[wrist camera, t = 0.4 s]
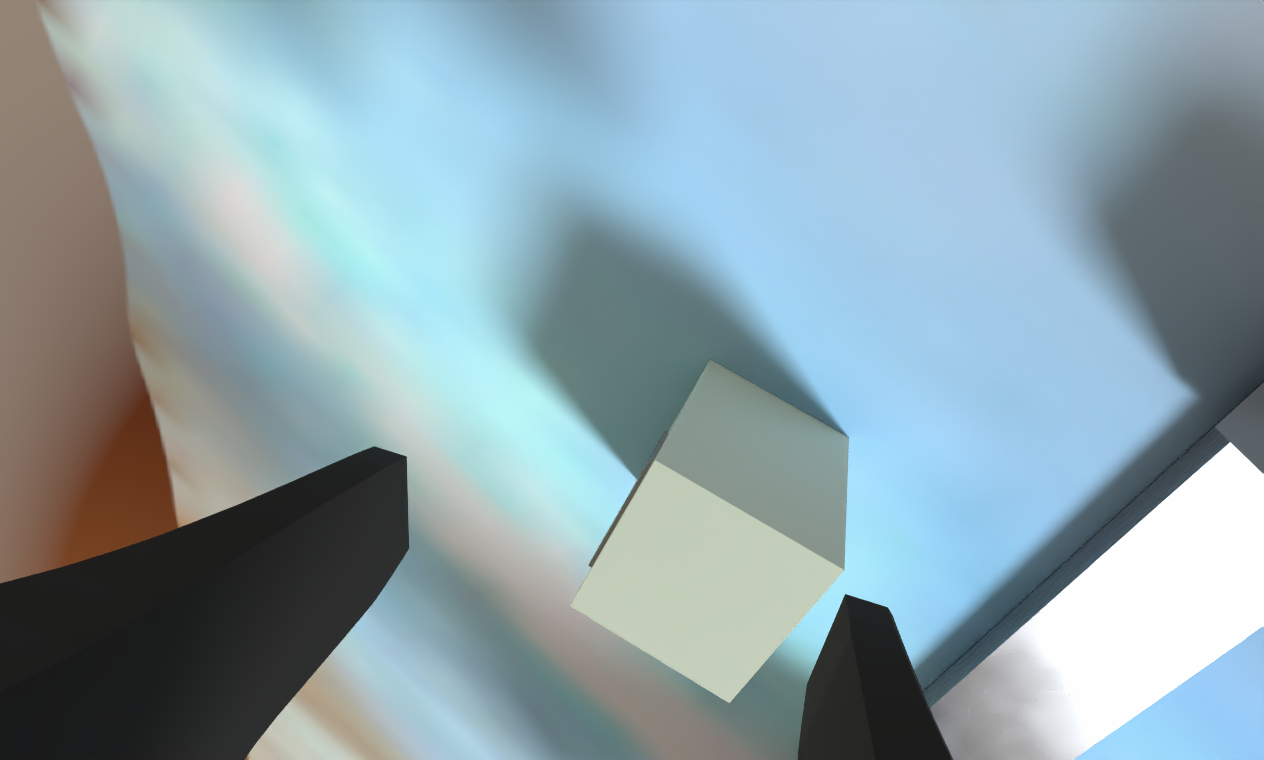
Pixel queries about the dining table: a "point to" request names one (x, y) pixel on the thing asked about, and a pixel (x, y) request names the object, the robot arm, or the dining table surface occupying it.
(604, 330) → the dining table surface
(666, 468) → the block
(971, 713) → the steel rail
